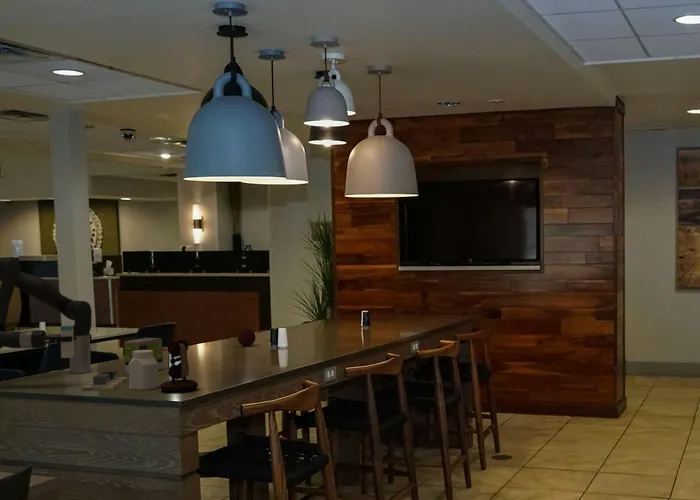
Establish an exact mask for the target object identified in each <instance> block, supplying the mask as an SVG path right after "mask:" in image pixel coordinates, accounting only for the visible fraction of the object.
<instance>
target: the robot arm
mask: <svg viewBox="0 0 700 500" xmlns="http://www.w3.org/2000/svg"><path fill="white" fill-rule="evenodd" d="M21 269H22V267H21V264H20V261H19V260H18V258H16V257H12V256H8V257H1V258H0V281H1V285H0V350H1V349H2V348H10V349H44V348H45V347H46V346H47V345H54V344H55V345H56V344H61V343H62V342H72V336H65V337H63V336H61V333H50V334H47V332H46V330H39V329H37V330H33V329H32V330H23V331H18V330H17V331H7V328H6V327H7V326H6V324H7V320H8V319H7V318H8V314H9V308H10V303H11V300H12V297H13V293H14V290H15V288H16V289H19V290H20V291H22V292H24V293H26V294H27V295H29V296H31V297H32V298H33V299H36V300H37V301H39V302H41V303H43V304H45V305H47V306H48V307H51V308H53V309H54V310H55V311H56V310H57V311H58V312H59V313H61V315H62V316H64V317H66V318H67V319H69V320H71V321H73V322H74V323H73V333H74V356H73V357H71V358H69V373H70V374H87V373H91V371H92V367H91V362H92V361H91V329H92V315H93V314H92V313H93V311H92V307H91V305H90V303H89V302H87V301H85V300H74V299H72V298H69V297H67V296H65V295H63V294H62V293H61V291H59V289H58V288H57V287H56V285H54V284H53V283H51V282H49V281H48V280H46V279H44V278H42V277H40V276H37V275H34V274H30V273H27V272H24V271H21Z"/></svg>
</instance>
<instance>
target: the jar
mask: <svg viewBox="0 0 700 500" xmlns="http://www.w3.org/2000/svg"><path fill="white" fill-rule="evenodd" d="M132 353H133V357H132V359H131V361H130V362H129V373H128V376H129V377H128V379H129V383H128V385H129V386H128V388H129V390H132V389H133V390H135V389H136V390H135V391H137V390H139V391H148V390H154V388H155V389H158V388H159V378H158V377H159V376H158V375H159V373H158V372H159V370H158V368H157V365H158V362H157V361H156V359H155V358H154V357H153V350H137V351H133V352H132ZM157 387H158V388H157Z"/></svg>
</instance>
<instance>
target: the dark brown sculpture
mask: <svg viewBox="0 0 700 500" xmlns="http://www.w3.org/2000/svg"><path fill="white" fill-rule="evenodd" d="M188 350H189V343H188V341H186V340H185V339H183V338H181V339H178V340H177V341H174V340H173V341H171V342H170V343H168V345H167V352H168V353H169V355H170V360H169V363H170V366H169V368H168V375H169V377H170V378H171V380H166V381H164V382H162V383H161V384H160V386H159V387H160V389H161V392H162V393H164V392H165V391H167V390H168V391H178V390H179V391H180V390H181V391H183V393H184V392H185V393H186V392H187V390H190V389H195V388H196V389H197V387H198V386H199V382H197V381H195V380H193V379H187V377H188V376H189V374H190V366H189V365H190V364H189V360H188ZM177 362H179V363H178V364H176V363H177Z"/></svg>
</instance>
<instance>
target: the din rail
mask: <svg viewBox="0 0 700 500" xmlns="http://www.w3.org/2000/svg"><path fill="white" fill-rule="evenodd" d="M119 377H120V375H119V374H118V369H117V368H116V369H105V370H103V371H102V372H101V373H100V374H99V373H98V374H96V375H94V376H93V377H92V382H93V385H92V387H105V386H106V385H108V384H109V383H111V382H113V381H114V380H116V379H117V378H119Z"/></svg>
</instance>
